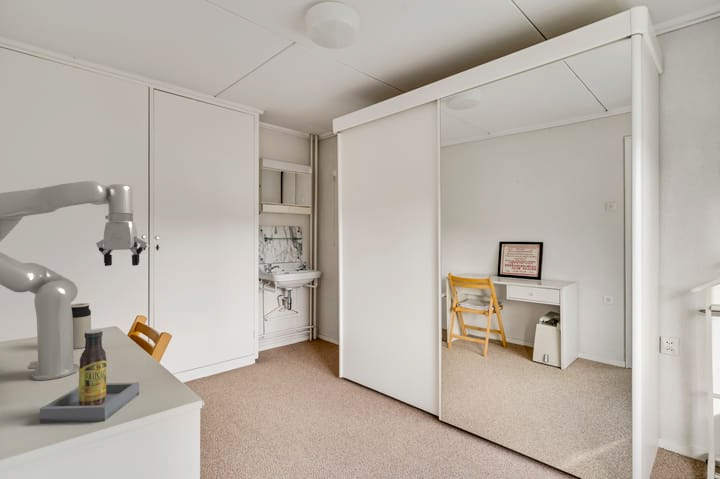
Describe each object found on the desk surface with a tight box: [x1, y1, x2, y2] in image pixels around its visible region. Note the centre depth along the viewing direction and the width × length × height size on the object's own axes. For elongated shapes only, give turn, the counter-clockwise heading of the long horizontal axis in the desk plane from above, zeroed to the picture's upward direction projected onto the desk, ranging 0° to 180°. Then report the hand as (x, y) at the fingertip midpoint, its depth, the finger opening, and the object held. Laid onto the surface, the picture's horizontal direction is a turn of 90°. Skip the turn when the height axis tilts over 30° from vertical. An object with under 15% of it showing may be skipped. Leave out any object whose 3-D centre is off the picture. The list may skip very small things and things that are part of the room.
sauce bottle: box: [78, 329, 108, 406], centre depth 103 cm, size 7×6×20 cm
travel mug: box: [71, 302, 92, 350], centre depth 160 cm, size 8×8×18 cm
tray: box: [39, 381, 140, 424], centre depth 103 cm, size 16×16×4 cm
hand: (121, 265), depth 137 cm, fingers open, 9 cm apart
